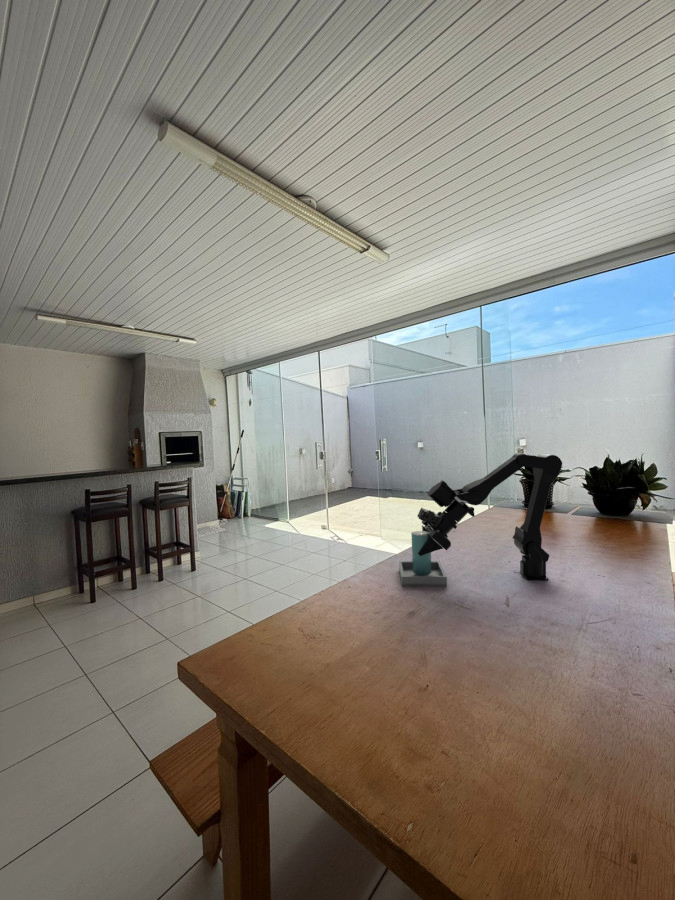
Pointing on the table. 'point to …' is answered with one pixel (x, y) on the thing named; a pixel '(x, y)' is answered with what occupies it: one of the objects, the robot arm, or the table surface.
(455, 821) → the table surface
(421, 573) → the teal cylinder
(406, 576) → the tray
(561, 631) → the table surface
